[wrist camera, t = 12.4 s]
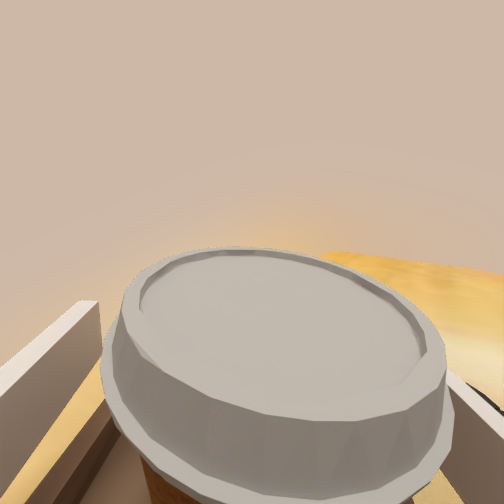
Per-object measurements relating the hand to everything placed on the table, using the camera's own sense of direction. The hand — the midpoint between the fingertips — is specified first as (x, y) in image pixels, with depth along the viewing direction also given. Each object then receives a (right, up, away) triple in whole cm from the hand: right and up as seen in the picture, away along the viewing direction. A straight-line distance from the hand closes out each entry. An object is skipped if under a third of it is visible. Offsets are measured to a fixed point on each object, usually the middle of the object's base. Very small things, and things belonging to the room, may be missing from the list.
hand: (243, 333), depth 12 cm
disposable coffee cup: (0, -9, 0) cm, 9 cm away
